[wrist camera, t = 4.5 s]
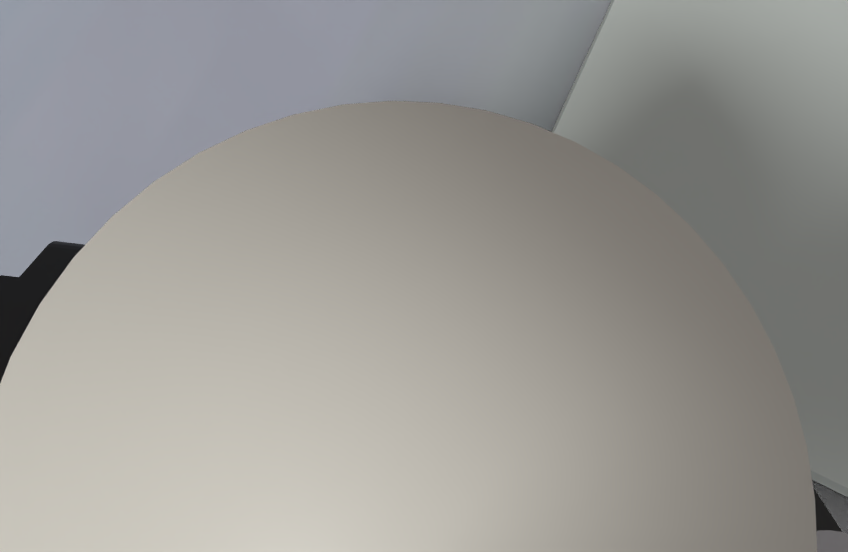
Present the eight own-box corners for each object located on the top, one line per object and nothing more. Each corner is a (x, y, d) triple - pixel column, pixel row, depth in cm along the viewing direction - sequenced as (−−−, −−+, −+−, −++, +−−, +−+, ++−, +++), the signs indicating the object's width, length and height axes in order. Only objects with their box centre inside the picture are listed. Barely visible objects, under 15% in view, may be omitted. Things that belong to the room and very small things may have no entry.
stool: (107, 556, 13) (-667, 926, 3) (270, 256, 15) (176, -211, 5) (421, 701, 14) (813, 1565, 3) (546, 387, 15) (1065, 231, 5)
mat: (469, 311, 15) (474, 305, 15) (654, -93, 19) (665, -111, 18) (969, 557, 16) (993, 560, 15) (1063, 111, 19) (1087, 100, 18)
